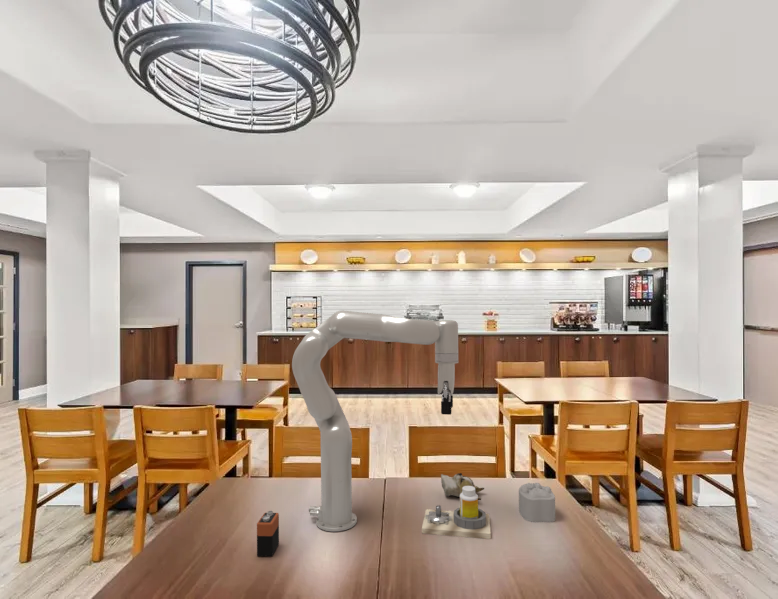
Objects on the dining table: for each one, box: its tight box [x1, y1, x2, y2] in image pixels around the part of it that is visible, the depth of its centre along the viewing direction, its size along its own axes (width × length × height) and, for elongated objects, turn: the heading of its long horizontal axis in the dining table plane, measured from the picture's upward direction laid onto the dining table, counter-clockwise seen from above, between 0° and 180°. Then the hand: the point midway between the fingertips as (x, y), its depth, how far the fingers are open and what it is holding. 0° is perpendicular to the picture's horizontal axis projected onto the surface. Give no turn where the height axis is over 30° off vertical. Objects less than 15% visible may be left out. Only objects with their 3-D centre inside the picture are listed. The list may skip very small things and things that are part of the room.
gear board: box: [421, 508, 492, 540], centre depth 142 cm, size 20×13×2 cm, turn 80°
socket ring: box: [453, 507, 487, 530], centre depth 141 cm, size 10×10×2 cm
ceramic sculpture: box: [440, 472, 485, 501], centre depth 163 cm, size 11×9×15 cm
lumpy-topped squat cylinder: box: [518, 482, 556, 523], centre depth 150 cm, size 10×13×9 cm
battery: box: [256, 510, 280, 557], centre depth 129 cm, size 4×7×10 cm, turn 177°
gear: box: [424, 504, 452, 526], centre depth 143 cm, size 8×8×4 cm
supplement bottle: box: [459, 486, 479, 520], centre depth 141 cm, size 6×6×10 cm
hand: (447, 410), depth 151 cm, fingers open, 9 cm apart
